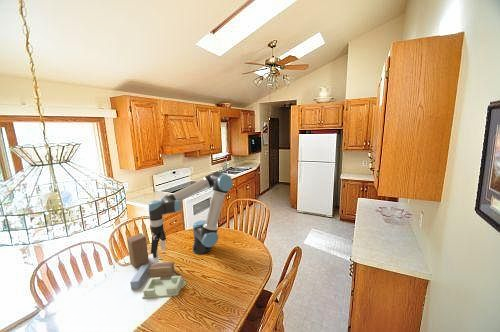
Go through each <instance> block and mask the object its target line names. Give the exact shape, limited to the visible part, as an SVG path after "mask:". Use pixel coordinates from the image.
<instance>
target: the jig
mask: <svg viewBox="0 0 500 332" xmlns="http://www.w3.org/2000/svg"><path fill="white" fill-rule="evenodd" d="M149 278H150V277H149ZM170 278H171V279H162V278H161V277H156V278H150V279H149V280H148V282H147V284H146V286H145V287H144V289H143V290H142V291H143V295H142V297H141V298H142V299H152V298H151V297H153V298H164V296H165V297H176V296H179V293H180V290H181V287H182V285H183V282H184V278H183V276H182V275H173V276H172V277H170Z"/></svg>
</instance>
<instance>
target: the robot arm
mask: <svg viewBox="0 0 500 332" xmlns="http://www.w3.org/2000/svg"><path fill="white" fill-rule="evenodd" d="M233 185H234V180H233V179H232V177H231V176H230V175H228V174H226V173H223V172H220V171H215V172H211V173H210V174H208V175H205V176H204V177H202V179H200V180H198V181H196V182H194V183H192V184H190V185H188V186H186V187H184V188H181V189H180V190H177V191H175V192H173V193H170V194H169V195H167V194H164V195H163V196H162V197H161V198H160V200H158V199H157V200H152V201H150V202H149V203H148V214H149V222H150V231H151V233H153V236H152V237H151V244H150V245H151V247H150V254H151V255H152V257H153V262H154V263H159V252H158V247H159V242H160V248H161V249H160V250H162V251H163V250H164V251H165V250H166V240H167V235H166V232H165V230H164V229H165V227H164V217H163V216H164V215H168V214H173V213H177V212H180V211H182V201H183V200H185V199H187V198H189V197H192V196H194V195H195V194H198V193H199V192H200V193H201V192H202V191H203V190H206V189H210V188H212V193H213V194H212V197H211V200H210V205H209V209H208V211H207V217H206V219H205V220H204V219H203V220H197V221H195V222H194V223H193V224H192V229H193V230H192V231H193V240H194V241H193V245H192V252H193V253H194V254H196V255H205V254H207V253H209V252H211V250H212V248H213V246H214V245H216V244H217V243H218V241H219V235H218V230H219V227H218V222H219V218H220V215H221V211H222V207H223V204H224V201H225V196H226V195H227V194H228V193H229V191H230V190H231V189H232V187H233Z"/></svg>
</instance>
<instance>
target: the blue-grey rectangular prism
mask: <svg viewBox="0 0 500 332" xmlns="http://www.w3.org/2000/svg"><path fill="white" fill-rule="evenodd" d="M149 269H150V265H149V264H142V265H140V267H139V268H138V270H137V271H136V273H135V275H134V276H133V277H132V279H131V280H130V289H131V290H134V289H135V288H136V289H140V288H141V286H140V285H142V284H143V283H144V281H143V280H145V278H146V277H147V276H148V274H149ZM146 275H147V276H146Z"/></svg>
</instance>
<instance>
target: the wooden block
mask: <svg viewBox="0 0 500 332" xmlns="http://www.w3.org/2000/svg"><path fill="white" fill-rule="evenodd" d="M126 242H127V249H128V254H129V255H128V256H129V261H130V263H131V265H132V266H133V267H134V268H138V267H139V266H140V267H141V266H142V265H145V264H146V263H148V262H149V261H150V259H149V253H148V251H149V250H148V244H147V237H146V236H145V235H144V234H143V233H140V232H139V233H137V234H134V235H131V236H129V237H127V239H126Z"/></svg>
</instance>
